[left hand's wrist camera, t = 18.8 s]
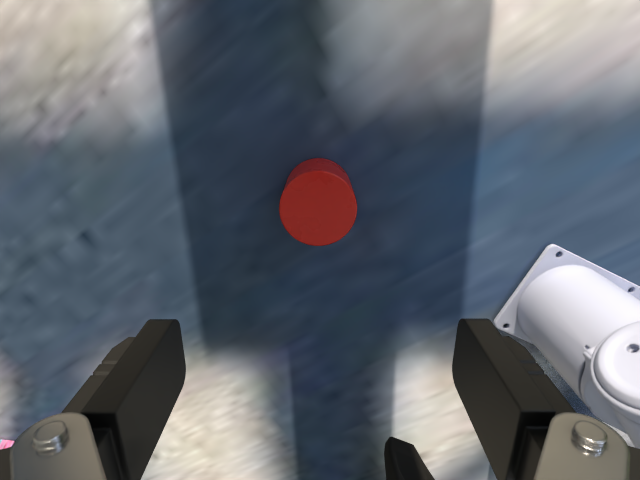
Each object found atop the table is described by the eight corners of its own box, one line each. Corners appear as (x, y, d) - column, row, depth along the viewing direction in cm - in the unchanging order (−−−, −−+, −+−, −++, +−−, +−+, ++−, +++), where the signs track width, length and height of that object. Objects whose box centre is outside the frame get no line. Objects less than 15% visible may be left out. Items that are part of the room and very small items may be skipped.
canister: (275, 206, 30) (267, 228, 25) (301, 146, 29) (297, 157, 24) (334, 232, 31) (336, 257, 26) (362, 175, 29) (370, 191, 25)
